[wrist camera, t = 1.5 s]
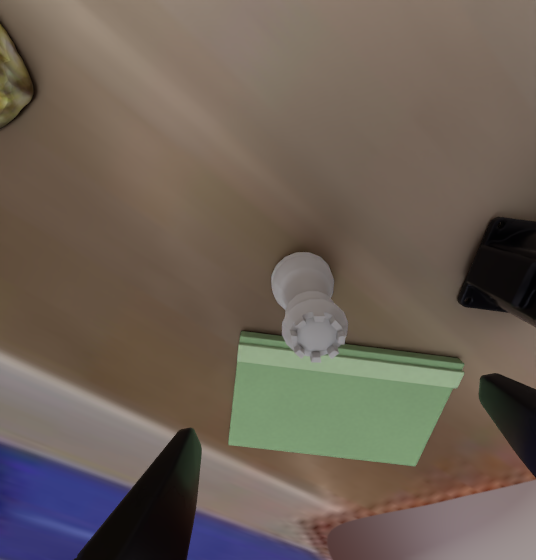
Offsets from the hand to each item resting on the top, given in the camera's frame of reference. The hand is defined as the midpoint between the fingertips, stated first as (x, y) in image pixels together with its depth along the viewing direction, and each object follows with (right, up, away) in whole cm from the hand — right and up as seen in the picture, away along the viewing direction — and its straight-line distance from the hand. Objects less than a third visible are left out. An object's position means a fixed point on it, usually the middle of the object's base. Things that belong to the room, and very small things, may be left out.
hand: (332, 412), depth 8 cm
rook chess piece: (0, +4, +12) cm, 12 cm away
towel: (+4, -7, +15) cm, 17 cm away
